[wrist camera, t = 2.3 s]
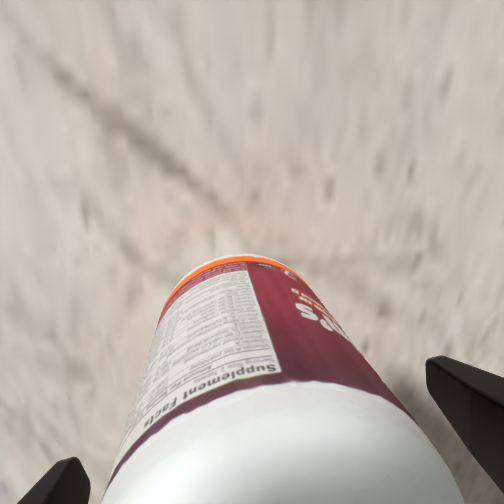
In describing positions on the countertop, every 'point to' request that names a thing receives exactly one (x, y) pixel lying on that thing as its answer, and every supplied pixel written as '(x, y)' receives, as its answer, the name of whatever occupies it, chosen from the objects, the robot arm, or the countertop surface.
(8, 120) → the countertop surface
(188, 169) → the countertop surface
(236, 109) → the countertop surface
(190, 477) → the pill bottle
